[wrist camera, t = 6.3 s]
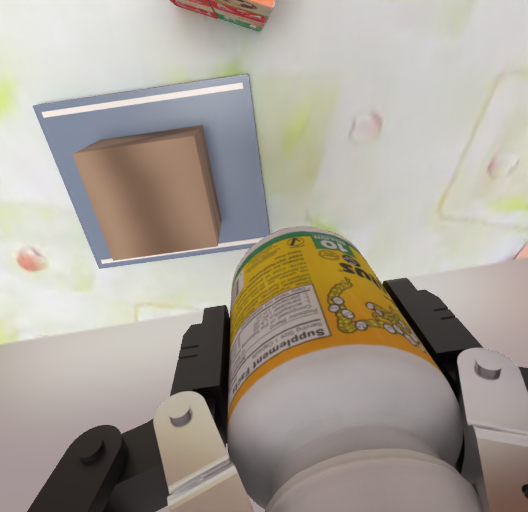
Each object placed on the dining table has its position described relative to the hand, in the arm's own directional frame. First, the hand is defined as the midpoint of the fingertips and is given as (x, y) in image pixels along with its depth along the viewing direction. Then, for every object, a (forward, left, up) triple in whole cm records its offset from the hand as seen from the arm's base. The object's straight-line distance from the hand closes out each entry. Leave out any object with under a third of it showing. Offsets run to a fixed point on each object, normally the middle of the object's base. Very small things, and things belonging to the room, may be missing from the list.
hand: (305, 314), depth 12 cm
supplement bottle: (0, 0, -2) cm, 2 cm away
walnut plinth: (+9, 0, -19) cm, 21 cm away
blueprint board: (+9, 0, -20) cm, 22 cm away
